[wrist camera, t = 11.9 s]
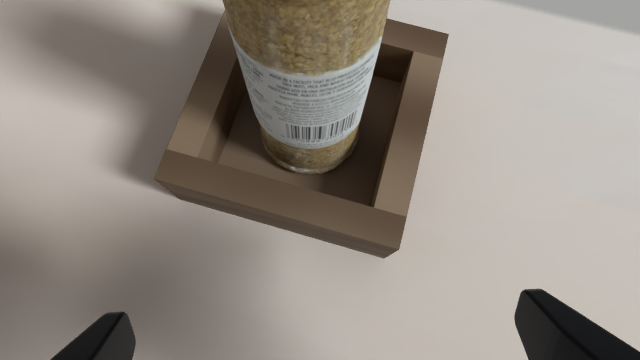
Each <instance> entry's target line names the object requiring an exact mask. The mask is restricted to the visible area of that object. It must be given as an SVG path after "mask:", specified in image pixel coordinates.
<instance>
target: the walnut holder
mask: <svg viewBox="0 0 640 360" xmlns="http://www.w3.org/2000/svg"><path fill="white" fill-rule="evenodd" d="M448 35H449V34H446V33H442V32H438V31H434V30H430V29H426V28H422V27H418V26H414V25H410V24H406V23H402V22H398V21H395V20H391V19H386V22H385V26H384V31H383V36H382V40H381V44H380V49H379V52H378V56H377V60H376V63H375V67H374V71H373V76H372V79H371V83H370V86H369V90H368V94H367V97H366V101H365V104H364V108H363V112H362V115H361V119H360V122H359V137H358V141H357V144H356V146H355V148H354V150H353V152H352V153H351V155H350V156H349V157H348V158H347V159H346V160H345V161H344V162H343V163H342V164H341V165H339V166H338V167H336V168H334V169H332V170H330V171H328V172H325V173H321V174H313V175H307V174H297V173H294V172H291V171H289V170H287V169H285V168H283V167H281V166H280V165H279V164H277V163H276V162H275V161H274V160H273V159H272V158H271V157H270V156H269V155H268V154H267V152H266V150H265V148H264V145H263V143H262V140H261V135H260V124H259V121H258V119H257V117H256V115H255V112H254V110H253V106H252V103H251V99H250V96H249V93H248V90H247V86H246V83H245V80H244V76H243V73H242V70H241V67H240V63H239V60H238V56H237V53H236V50H235V46H234V43H233V40H232V37H231V34H230V31H229V28H228V23H227V19H226V11H224V14H223V16H222V19H221V21H220V23H219V26H218V28H217V30H216V33H215V35H214V38H213V40H212V42H211V45H210V47H209V49H208V52H207V54H206V56H205V59H204V61H203V64H202V66H201V68H200V71H199V73H198V75H197V78H196V80H195V83H194V85H193V87H192V90H191V92H190V94H189V97H188V99H187V101H186V104H185V106H184V109H183V111H182V113H181V116H180V118H179V120H178V123H177V125H176V128H175V130H174V132H173V135H172V137H171V139H170V142H169V144H168V146H167V149H166V151H165V154H164V156H163V158H162V161H161V163H160V165H159V168H158V170H157V173H156V175H155V177H154V179H155V180H156V181H157V182H159V183H160V184H161V185H163V186H164V187H165V188H166V189H168V190H169V191H170V192H171V193H173V194H174V195H175V196H177V197H178V198H179V199H181V200H185V201H188V202H192V203H195V204H198V205H202V206H205V207H209V208H212V209H216V210H219V211H223V212H226V213H230V214H233V215H236V216H240V217H243V218H247V219H250V220H254V221H257V222H261V223H264V224H267V225H271V226H274V227H278V228H281V229H285V230H288V231H292V232H295V233H298V234H302V235H305V236H309V237H312V238H316V239H319V240H323V241H326V242H329V243H333V244H336V245H340V246H343V247H347V248H350V249H354V250H357V251H361V252H364V253H367V254H371V255H374V256H378V257H381V258H386V257H387V256H389V255H391V254H392V253H394V252H396V251H397V250H399V248H400V243H401V239H402V235H403V230H404V226H405V222H406V217H407V213H408V209H409V204H410V200H411V195H412V191H413V187H414V182H415V178H416V174H417V169H418V165H419V161H420V156H421V152H422V148H423V143H424V139H425V135H426V130H427V126H428V122H429V117H430V113H431V109H432V104H433V100H434V96H435V91H436V87H437V83H438V78H439V74H440V70H441V65H442V61H443V57H444V52H445V48H446V44H447V39H448Z"/></svg>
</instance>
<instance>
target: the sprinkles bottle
mask: <svg viewBox="0 0 640 360" xmlns="http://www.w3.org/2000/svg"><path fill="white" fill-rule="evenodd" d="M223 3H224V7H225V11H226V19H227V23H228V28H229V31H230V34H231V37H232V40H233V43H234V46H235V50H236V53H237V56H238V60H239V63H240V67H241V70H242V73H243V76H244V80H245V83H246V86H247V90H248V93H249V96H250V99H251V103H252V106H253V110H254V112H255V115H256V117H257V119H258V121H259V124H260V135H261V140H262V143H263V145H264V148H265V150H266V152H267V154H268V155H269V156H270V157H271V158H272V159H273V160H274V161H275V162H276V163H277V164H279V165H280V166H281V167H283V168H285V169H287V170H289V171H291V172H294V173H297V174H307V175H313V174H321V173H325V172H328V171H330V170H332V169H334V168H336V167H338V166H339V165H341V164H342V163H343V162H344V161H345V160H346V159H347V158H348V157H349V156H350V155H351V153H352V152H353V150H354V148H355V146H356V144H357V141H358V137H359V122H360V119H361V115H362V112H363V108H364V104H365V101H366V97H367V94H368V90H369V86H370V83H371V79H372V76H373V71H374V67H375V63H376V60H377V56H378V52H379V49H380V44H381V40H382V36H383V31H384V26H385V22H386V19H387V13H388V8H389V4H390V0H223Z"/></svg>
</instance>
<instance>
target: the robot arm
mask: <svg viewBox="0 0 640 360" xmlns="http://www.w3.org/2000/svg"><path fill="white" fill-rule="evenodd" d="M514 319H515V325H516V328H517V330H518V333H519V336H520V338H521V341H522V343H523V346H524V349H525V351H526V354H527V357H528V359H529V360H640V352H639V351H638V350H636V349H635V348H633V347H631V346H630V345H628V344H627V343H625V342H624V341H622V340H621V339H619V338H617V337H616V336H614V335H613V334H611V333H610V332H608V331H607V330H605V329H603V328H602V327H600V326H599V325H597V324H596V323H594V322H592V321H591V320H589V319H588V318H586V317H585V316H583V315H582V314H580V313H578V312H577V311H575V310H574V309H572V308H571V307H569V306H568V305H566V304H564V303H563V302H561V301H560V300H558V299H557V298H555V297H553V296H552V295H550V294H549V293H547V292H546V291H544V290H542V289H525V290H523V291H522V292H521V294H520V297H519V301H518V304H517V308H516V312H515V318H514ZM135 344H136V340H135V335H134V332H133V329H132V326H131V323H130V320H129V317H128V315H127V314H126V313H125V312H109V313H106V314H104V315H103V316H101V317H100V318H99V319H98V320H97V321H96V322H94V323H93V324H92V325H91V326H90V327H88V328H87V329H86V330H85V331H84V332H83V333H81V334H80V335H79V336H78V337H77V338H75V339H74V340H73V341H72V342H71V343H69V344H68V345H67V346H66V347H65V348H64V349H62V350H61V351H60V352H59V353H58V354H56V355H55V356H54V357H53V358H52V359H51V360H132V358H133V354H134V350H135Z"/></svg>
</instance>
